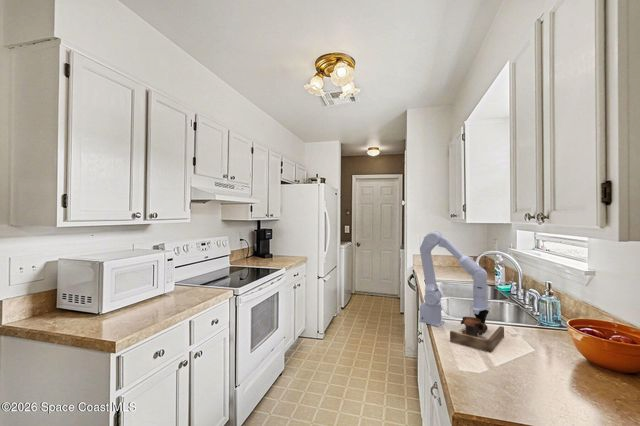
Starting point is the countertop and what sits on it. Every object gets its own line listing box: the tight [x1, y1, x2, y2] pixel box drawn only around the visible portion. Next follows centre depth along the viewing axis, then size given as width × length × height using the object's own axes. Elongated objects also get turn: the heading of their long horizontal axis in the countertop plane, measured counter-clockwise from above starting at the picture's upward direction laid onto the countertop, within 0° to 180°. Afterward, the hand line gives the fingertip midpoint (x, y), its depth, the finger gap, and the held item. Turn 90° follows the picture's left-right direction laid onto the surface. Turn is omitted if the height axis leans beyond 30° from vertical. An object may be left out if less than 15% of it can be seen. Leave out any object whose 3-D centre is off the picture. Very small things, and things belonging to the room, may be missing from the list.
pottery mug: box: [459, 316, 488, 337], centre depth 128 cm, size 12×10×8 cm
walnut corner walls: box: [449, 325, 505, 354], centre depth 123 cm, size 15×20×4 cm
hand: (481, 326), depth 132 cm, fingers closed
